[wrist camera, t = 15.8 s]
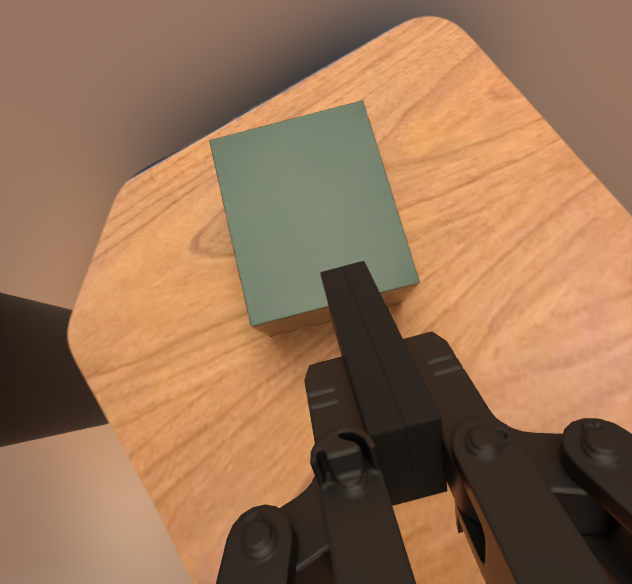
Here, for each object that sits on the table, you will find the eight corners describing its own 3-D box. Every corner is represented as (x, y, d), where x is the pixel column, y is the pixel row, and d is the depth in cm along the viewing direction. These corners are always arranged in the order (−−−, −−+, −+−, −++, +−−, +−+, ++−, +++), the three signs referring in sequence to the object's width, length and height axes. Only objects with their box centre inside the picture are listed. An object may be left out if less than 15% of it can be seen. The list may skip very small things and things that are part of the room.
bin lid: (211, 145, 38) (209, 140, 37) (362, 106, 38) (363, 100, 37) (252, 327, 34) (250, 326, 33) (418, 284, 34) (419, 282, 33)
